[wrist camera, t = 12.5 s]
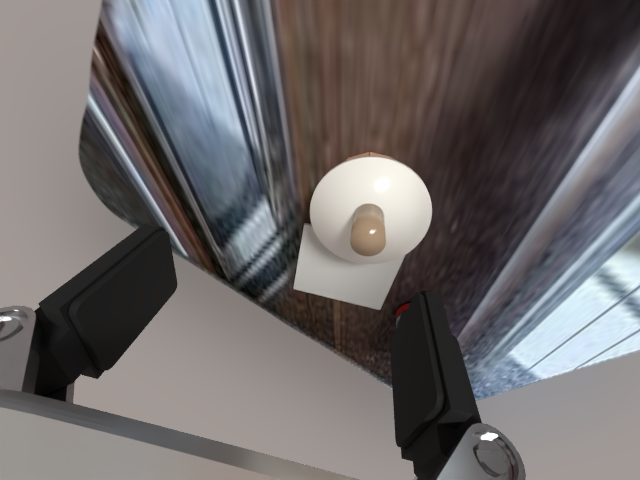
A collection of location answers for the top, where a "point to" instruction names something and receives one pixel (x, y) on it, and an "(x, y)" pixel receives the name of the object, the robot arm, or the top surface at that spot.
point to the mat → (342, 274)
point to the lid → (370, 210)
